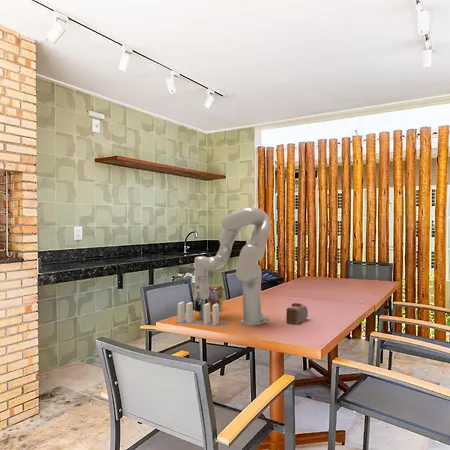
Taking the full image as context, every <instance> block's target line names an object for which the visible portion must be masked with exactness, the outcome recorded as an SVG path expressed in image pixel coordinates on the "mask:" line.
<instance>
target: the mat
mask: <svg viewBox="0 0 450 450" xmlns="http://www.w3.org/2000/svg"><path fill="white" fill-rule="evenodd" d="M175 323H176V324H177V323H178V324H187V325H189V324H191V325H203V326H216V327H227V326H228V325H230V324H231V323H230V322H225V321H223V322H222V321H219V323H218V324H217V325H213V321H211V320H210V323H208V324H207V325H205V324H204V320H196V319H195V320H194V319H193V321H192V322H191V323H186V319H185V321H183V322H181V323H179V322H178V321H176V322H175Z"/></svg>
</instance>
